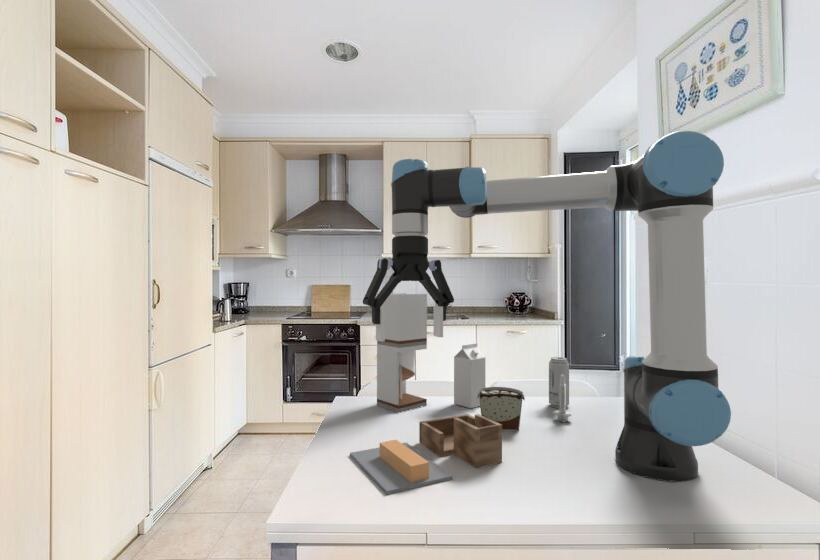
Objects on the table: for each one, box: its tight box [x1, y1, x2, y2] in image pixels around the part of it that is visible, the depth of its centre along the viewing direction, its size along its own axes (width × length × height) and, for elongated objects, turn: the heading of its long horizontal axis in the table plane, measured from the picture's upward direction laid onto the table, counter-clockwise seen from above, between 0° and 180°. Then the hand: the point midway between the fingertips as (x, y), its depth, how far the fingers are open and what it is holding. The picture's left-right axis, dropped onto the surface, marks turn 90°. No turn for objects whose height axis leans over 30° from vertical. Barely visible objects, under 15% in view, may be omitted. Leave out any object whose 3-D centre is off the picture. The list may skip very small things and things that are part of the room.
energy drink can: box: [548, 356, 570, 409], centre depth 136 cm, size 6×6×15 cm
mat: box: [349, 442, 453, 495], centre depth 91 cm, size 20×14×1 cm
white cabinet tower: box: [376, 292, 428, 413], centre depth 136 cm, size 11×11×35 cm
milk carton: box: [453, 343, 486, 409], centre depth 138 cm, size 7×7×19 cm
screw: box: [553, 374, 573, 423], centre depth 122 cm, size 13×5×5 cm
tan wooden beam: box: [379, 439, 429, 482], centre depth 89 cm, size 14×4×3 cm, turn 29°
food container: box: [477, 386, 526, 432], centre depth 117 cm, size 12×6×10 cm, turn 84°
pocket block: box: [418, 413, 503, 469], centre depth 100 cm, size 18×14×8 cm
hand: (410, 338), depth 90 cm, fingers open, 13 cm apart
